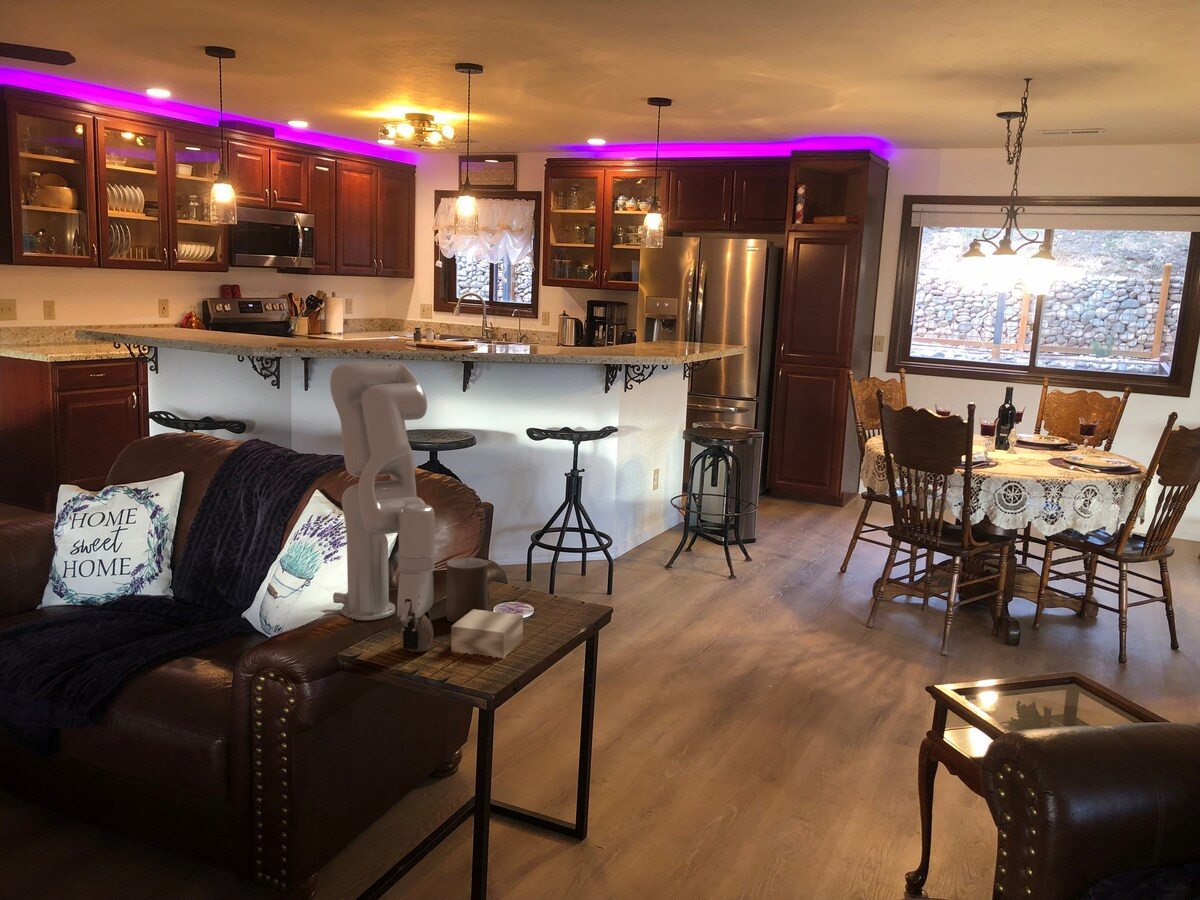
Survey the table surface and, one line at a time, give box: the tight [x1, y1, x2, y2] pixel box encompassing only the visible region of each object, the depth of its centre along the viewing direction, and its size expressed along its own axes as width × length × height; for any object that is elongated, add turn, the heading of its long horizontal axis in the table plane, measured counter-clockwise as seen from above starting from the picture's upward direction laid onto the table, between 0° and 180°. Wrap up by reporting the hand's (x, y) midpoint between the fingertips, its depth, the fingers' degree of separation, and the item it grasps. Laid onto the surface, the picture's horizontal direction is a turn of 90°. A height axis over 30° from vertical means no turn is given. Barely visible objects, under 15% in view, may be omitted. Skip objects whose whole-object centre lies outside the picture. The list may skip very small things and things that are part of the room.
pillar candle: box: [445, 557, 489, 624], centre depth 226 cm, size 10×10×15 cm
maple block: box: [450, 609, 524, 659], centre depth 209 cm, size 12×12×6 cm
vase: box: [400, 614, 434, 654], centre depth 206 cm, size 7×7×9 cm
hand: (417, 641), depth 206 cm, fingers closed on vase, 6 cm apart
